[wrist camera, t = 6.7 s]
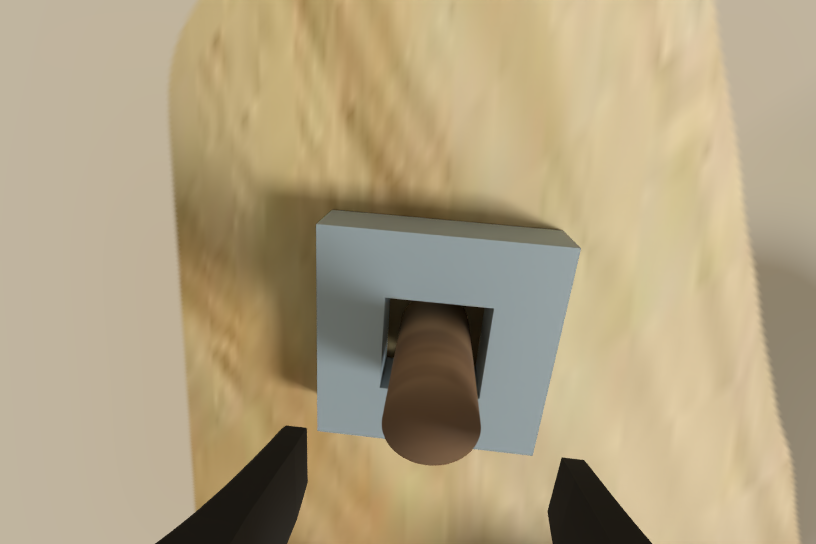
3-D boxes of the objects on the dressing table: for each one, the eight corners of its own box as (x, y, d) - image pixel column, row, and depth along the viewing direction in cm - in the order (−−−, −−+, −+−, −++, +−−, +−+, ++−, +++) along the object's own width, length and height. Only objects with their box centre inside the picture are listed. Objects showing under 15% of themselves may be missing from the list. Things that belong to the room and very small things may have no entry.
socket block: (523, 418, 22) (532, 455, 19) (330, 397, 22) (317, 431, 20) (563, 230, 18) (580, 248, 16) (332, 209, 18) (316, 224, 16)
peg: (469, 352, 20) (481, 465, 14) (403, 354, 21) (386, 465, 14) (468, 292, 19) (480, 384, 13) (398, 295, 20) (376, 386, 13)
